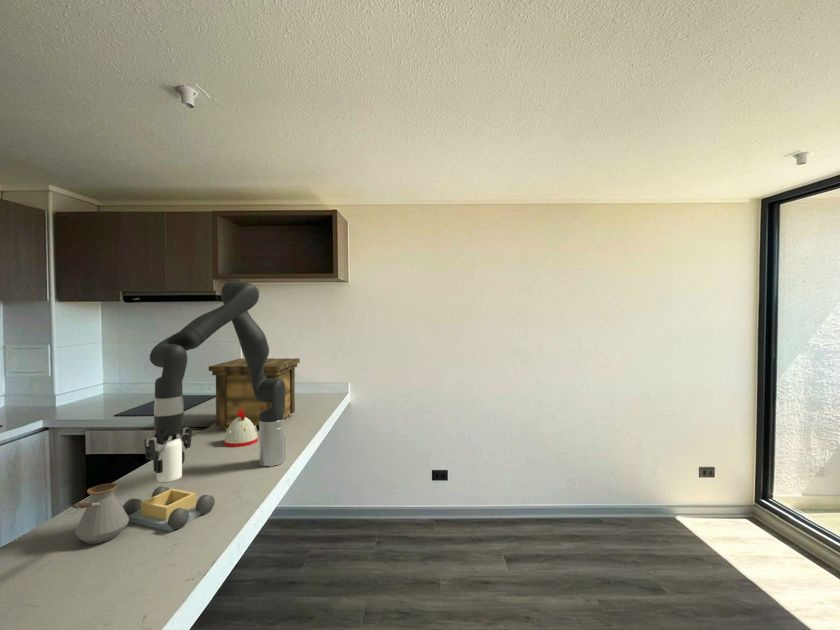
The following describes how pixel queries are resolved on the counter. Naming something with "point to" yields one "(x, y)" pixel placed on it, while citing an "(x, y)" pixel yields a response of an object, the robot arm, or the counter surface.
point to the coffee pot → (101, 515)
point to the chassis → (168, 508)
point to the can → (171, 461)
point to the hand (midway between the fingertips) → (169, 468)
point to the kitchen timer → (241, 432)
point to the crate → (249, 389)
